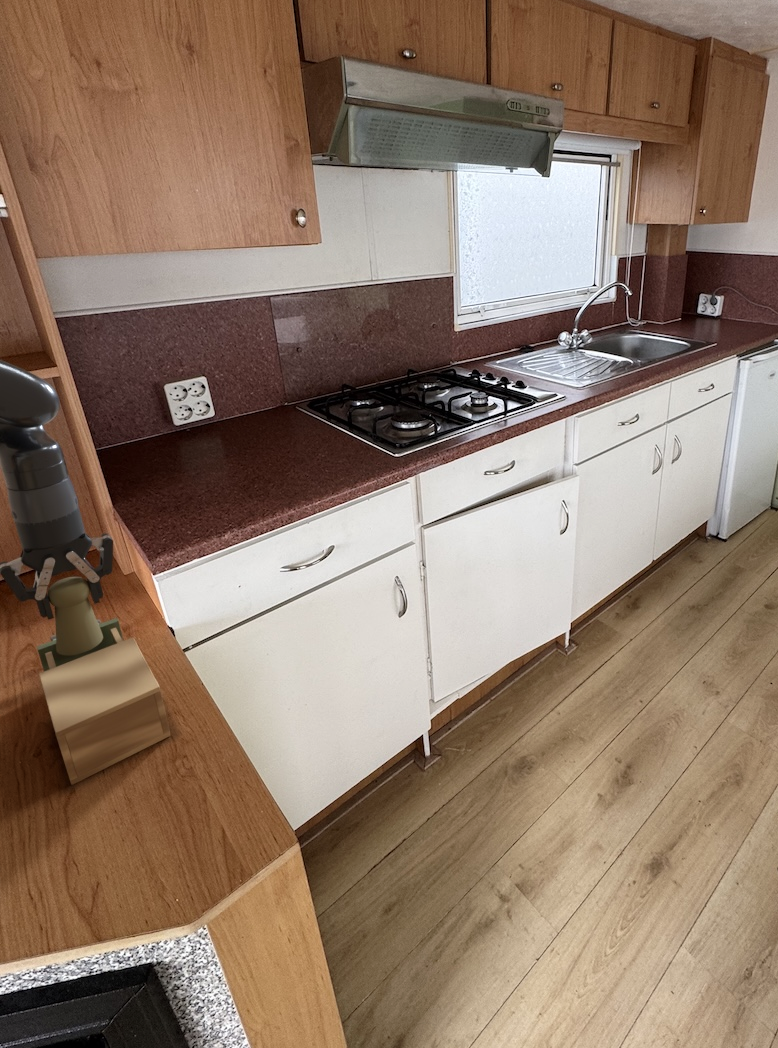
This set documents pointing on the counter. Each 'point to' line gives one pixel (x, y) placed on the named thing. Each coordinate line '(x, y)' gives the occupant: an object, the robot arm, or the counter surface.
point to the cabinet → (104, 708)
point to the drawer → (54, 659)
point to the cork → (74, 616)
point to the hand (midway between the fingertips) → (73, 608)
